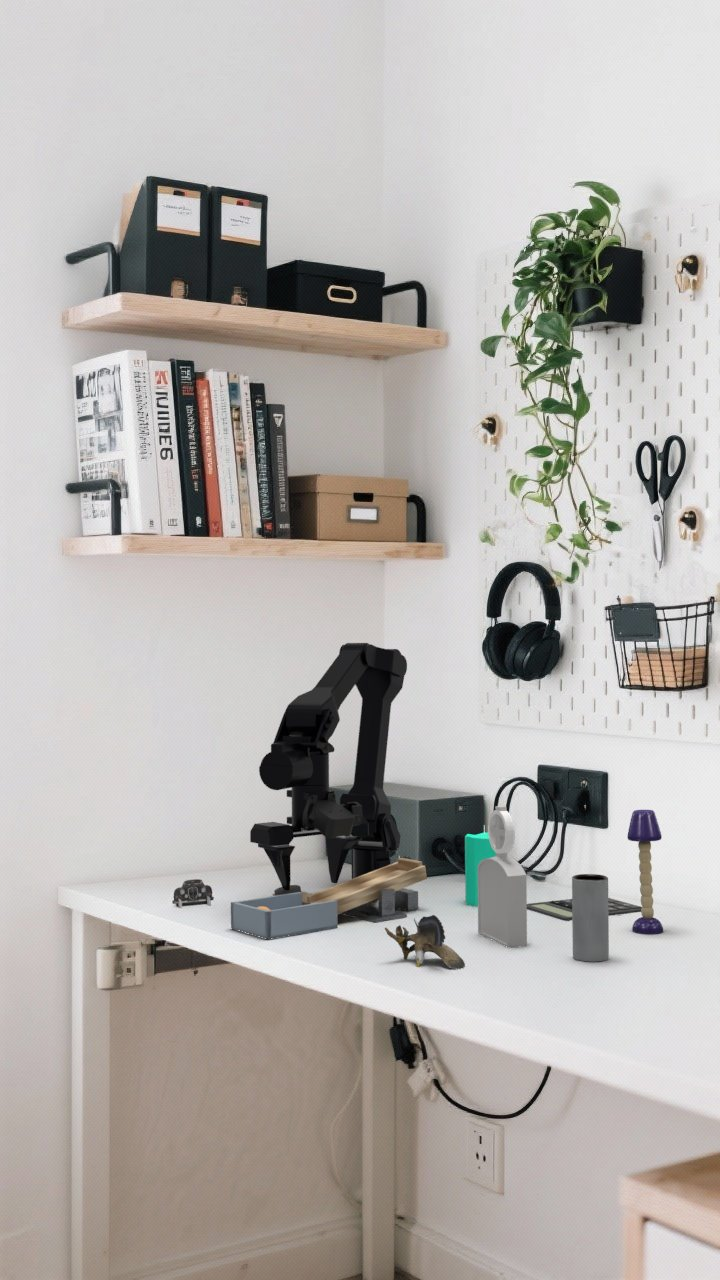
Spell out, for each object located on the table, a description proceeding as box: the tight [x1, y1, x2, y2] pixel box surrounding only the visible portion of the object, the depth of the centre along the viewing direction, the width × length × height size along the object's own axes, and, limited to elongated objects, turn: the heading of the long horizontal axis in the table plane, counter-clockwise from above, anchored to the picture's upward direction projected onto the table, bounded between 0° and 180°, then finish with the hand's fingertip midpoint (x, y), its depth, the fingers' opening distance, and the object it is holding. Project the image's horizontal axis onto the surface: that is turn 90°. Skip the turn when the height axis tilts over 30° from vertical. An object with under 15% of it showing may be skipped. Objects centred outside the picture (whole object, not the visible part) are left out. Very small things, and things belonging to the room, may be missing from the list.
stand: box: [339, 887, 419, 923], centre depth 205 cm, size 11×10×4 cm
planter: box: [571, 873, 610, 963], centre depth 175 cm, size 4×4×10 cm
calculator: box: [527, 897, 642, 922], centre depth 206 cm, size 12×1×15 cm
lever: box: [271, 857, 428, 915], centre depth 207 cm, size 18×15×3 cm
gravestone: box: [477, 805, 528, 948], centre depth 186 cm, size 3×9×18 cm, turn 20°
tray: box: [230, 891, 338, 940], centre depth 194 cm, size 9×12×4 cm
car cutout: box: [171, 878, 215, 909], centre depth 214 cm, size 15×7×4 cm, turn 115°
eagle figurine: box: [384, 914, 466, 970], centre depth 173 cm, size 8×7×9 cm
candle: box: [464, 824, 496, 907], centre depth 212 cm, size 6×6×12 cm
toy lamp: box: [627, 809, 664, 935], centre depth 191 cm, size 5×5×17 cm
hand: (310, 886), depth 210 cm, fingers open, 9 cm apart
